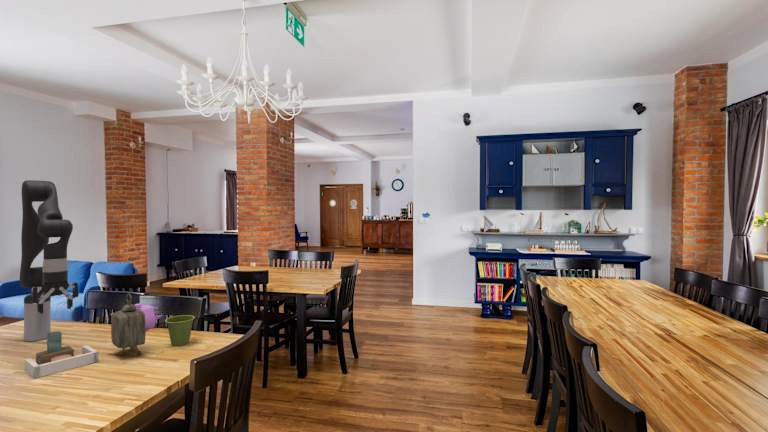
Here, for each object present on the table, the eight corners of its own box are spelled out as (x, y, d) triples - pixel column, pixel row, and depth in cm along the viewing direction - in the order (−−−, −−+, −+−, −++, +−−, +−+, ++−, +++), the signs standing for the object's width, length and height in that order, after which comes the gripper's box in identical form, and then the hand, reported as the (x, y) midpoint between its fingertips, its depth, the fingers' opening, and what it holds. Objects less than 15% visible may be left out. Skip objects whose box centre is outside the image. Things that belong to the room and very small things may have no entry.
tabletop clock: (145, 355, 157) (145, 294, 157) (119, 361, 151) (119, 298, 151) (135, 346, 167) (135, 289, 167) (110, 352, 161) (110, 292, 160)
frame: (24, 370, 142) (24, 359, 142) (86, 354, 157) (86, 345, 157) (34, 378, 134) (34, 367, 134) (98, 361, 150) (98, 351, 150)
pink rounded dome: (48, 366, 146) (48, 358, 146) (68, 361, 151) (68, 353, 151) (54, 369, 143) (54, 361, 143) (74, 364, 148) (74, 356, 148)
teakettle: (164, 323, 203) (164, 300, 203) (143, 333, 186) (143, 308, 186) (132, 323, 204) (132, 300, 204) (108, 333, 187) (108, 307, 187)
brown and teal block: (36, 363, 149) (36, 334, 149) (68, 355, 157) (68, 328, 157) (41, 367, 145) (41, 338, 145) (74, 359, 153) (74, 331, 153)
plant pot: (158, 345, 168) (158, 320, 168) (182, 337, 179) (182, 314, 179) (178, 349, 164) (178, 323, 164) (200, 341, 175) (200, 316, 175)
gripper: (74, 267, 159) (74, 306, 159) (28, 271, 147) (28, 313, 147) (80, 268, 154) (80, 308, 155) (34, 273, 143) (34, 316, 143)
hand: (55, 310), depth 151 cm, fingers open, 8 cm apart
